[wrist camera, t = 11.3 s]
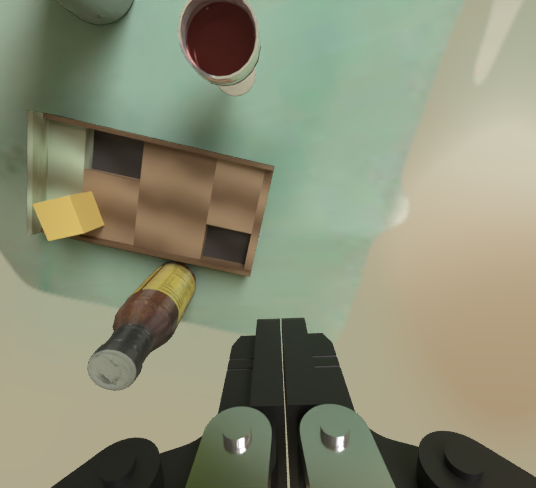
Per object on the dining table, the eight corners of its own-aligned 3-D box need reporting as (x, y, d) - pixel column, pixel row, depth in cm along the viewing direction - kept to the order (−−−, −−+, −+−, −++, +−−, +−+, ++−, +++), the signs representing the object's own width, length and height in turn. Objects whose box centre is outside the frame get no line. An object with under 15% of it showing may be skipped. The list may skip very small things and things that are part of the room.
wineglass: (217, 30, 35) (191, -31, 24) (271, 55, 36) (272, 6, 24) (199, 90, 37) (166, 60, 25) (251, 112, 38) (242, 93, 26)
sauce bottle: (164, 303, 45) (84, 412, 26) (148, 265, 43) (51, 350, 24) (206, 293, 44) (157, 396, 25) (192, 253, 43) (128, 332, 24)
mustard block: (58, 198, 39) (32, 203, 34) (91, 191, 38) (69, 195, 34) (72, 232, 40) (48, 241, 36) (104, 225, 40) (84, 233, 35)
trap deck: (55, 115, 38) (27, 109, 34) (274, 166, 39) (274, 167, 35) (52, 225, 42) (26, 233, 37) (251, 268, 43) (249, 281, 39)
